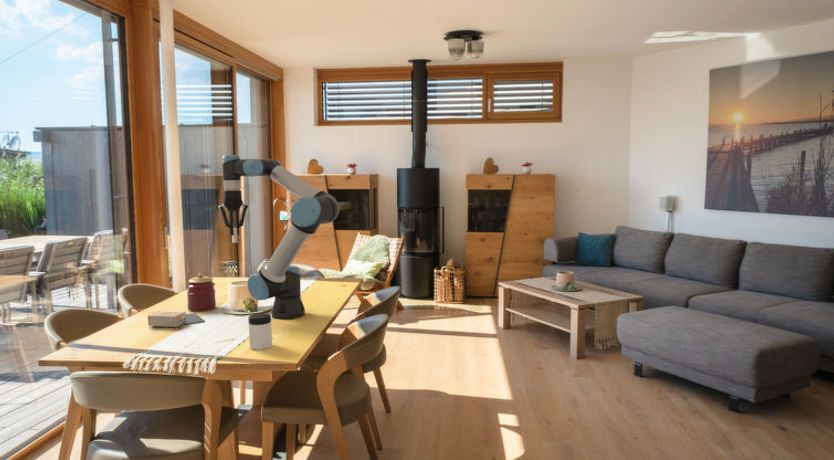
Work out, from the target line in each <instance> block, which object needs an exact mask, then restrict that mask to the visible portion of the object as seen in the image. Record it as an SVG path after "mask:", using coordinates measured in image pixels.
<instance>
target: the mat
mask: <svg viewBox="0 0 834 460" xmlns="http://www.w3.org/2000/svg"><path fill="white" fill-rule="evenodd" d="M205 322H206V321H205V319H204V318H202V317H200V315H198V314H197V313H196V312H193V313H186V322H185V323H183V324H181V325H179V326H178V327H180V326H186V325H194V324H201V323H205ZM161 327H163V328H164V329H166V328H168V329H169V327H168V326H161Z"/></svg>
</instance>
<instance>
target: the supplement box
mask: <svg viewBox="0 0 834 460" xmlns="http://www.w3.org/2000/svg"><path fill="white" fill-rule="evenodd" d="M186 314H187V313H186V311H162V310H160V311H159V310H158V311H157V312H153V313H151V314H149V315H147V323H148V324H147V325H148V327H162V326H168V328H174V327H175V328H176V327H180V326H179V325H181V324H183V323H185V322H186ZM181 326H182V325H181Z"/></svg>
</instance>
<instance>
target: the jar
mask: <svg viewBox="0 0 834 460" xmlns="http://www.w3.org/2000/svg"><path fill="white" fill-rule="evenodd" d="M272 334H273V333H272V314H270V313H268V312H266V313H265V312H259V313H258V312H257V313H253V314H249V316H248V336H249V337H248V338H249V347H250V350H257V351H258V350H259V351H262V350H266V349H270V348H273V335H272Z"/></svg>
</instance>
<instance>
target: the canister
mask: <svg viewBox="0 0 834 460" xmlns="http://www.w3.org/2000/svg"><path fill="white" fill-rule="evenodd" d="M213 281H214V279H213V278H212V277H210V276H206V275H205V276H204V274H203V272H198V274H197V276H193V277H191V278H190V279H189V280H187V282H188V283H187V285H186V288H187V292H186V294H187V309H188V311H189V312H207V311H212V310H215V309H216V307H217V302H216V289H215V285H216V283H215V282H213Z"/></svg>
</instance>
